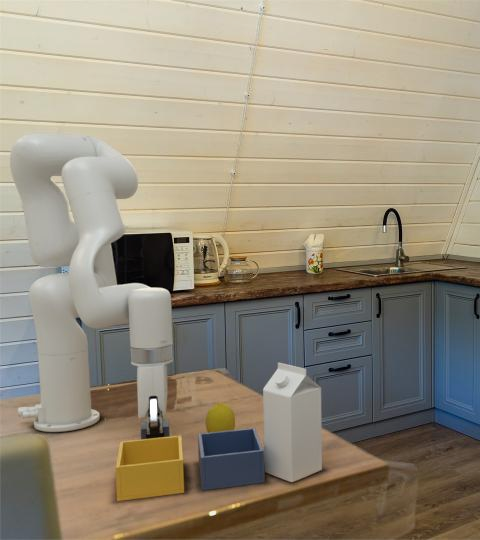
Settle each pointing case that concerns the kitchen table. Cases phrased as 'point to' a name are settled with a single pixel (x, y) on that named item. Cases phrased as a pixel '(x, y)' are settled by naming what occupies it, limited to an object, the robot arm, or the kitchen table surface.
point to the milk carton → (292, 424)
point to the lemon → (220, 418)
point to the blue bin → (230, 458)
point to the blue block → (165, 428)
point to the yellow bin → (149, 468)
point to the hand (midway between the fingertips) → (156, 447)
